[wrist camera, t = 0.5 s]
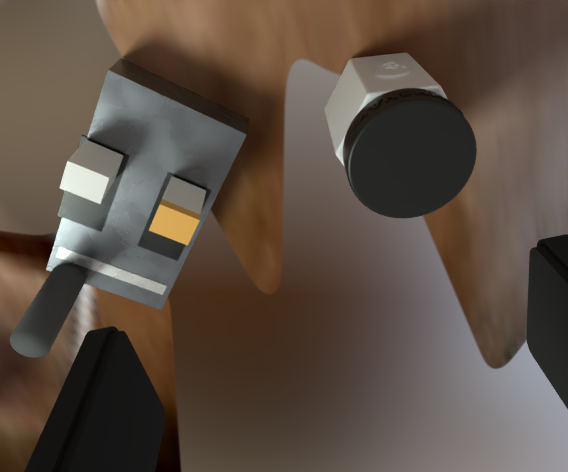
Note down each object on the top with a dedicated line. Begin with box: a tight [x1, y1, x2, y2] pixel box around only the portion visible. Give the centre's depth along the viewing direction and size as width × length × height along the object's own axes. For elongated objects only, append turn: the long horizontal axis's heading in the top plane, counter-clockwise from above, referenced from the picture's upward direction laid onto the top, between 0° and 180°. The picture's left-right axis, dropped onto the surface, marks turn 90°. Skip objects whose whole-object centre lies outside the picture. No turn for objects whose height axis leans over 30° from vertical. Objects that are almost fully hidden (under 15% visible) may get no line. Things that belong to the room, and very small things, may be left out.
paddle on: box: [149, 176, 206, 245], centre depth 39 cm, size 2×3×5 cm
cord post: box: [10, 264, 85, 358], centre depth 44 cm, size 4×4×12 cm
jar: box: [324, 52, 477, 218], centre depth 36 cm, size 9×8×12 cm
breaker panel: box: [46, 59, 249, 310], centre depth 43 cm, size 20×11×4 cm, turn 153°
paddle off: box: [60, 140, 123, 204], centre depth 38 cm, size 2×3×4 cm
